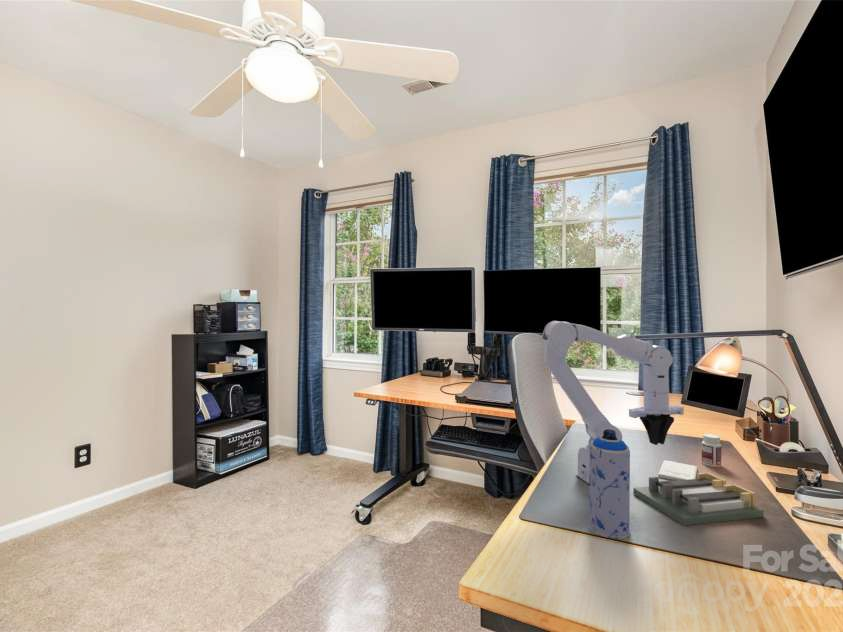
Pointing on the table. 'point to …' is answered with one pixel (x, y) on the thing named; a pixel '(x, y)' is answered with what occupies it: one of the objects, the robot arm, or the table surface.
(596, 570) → the table surface
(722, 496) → the strap front
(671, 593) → the table surface
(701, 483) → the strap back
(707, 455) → the pill bottle
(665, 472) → the external hard drive
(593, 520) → the aerosol can
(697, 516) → the board
